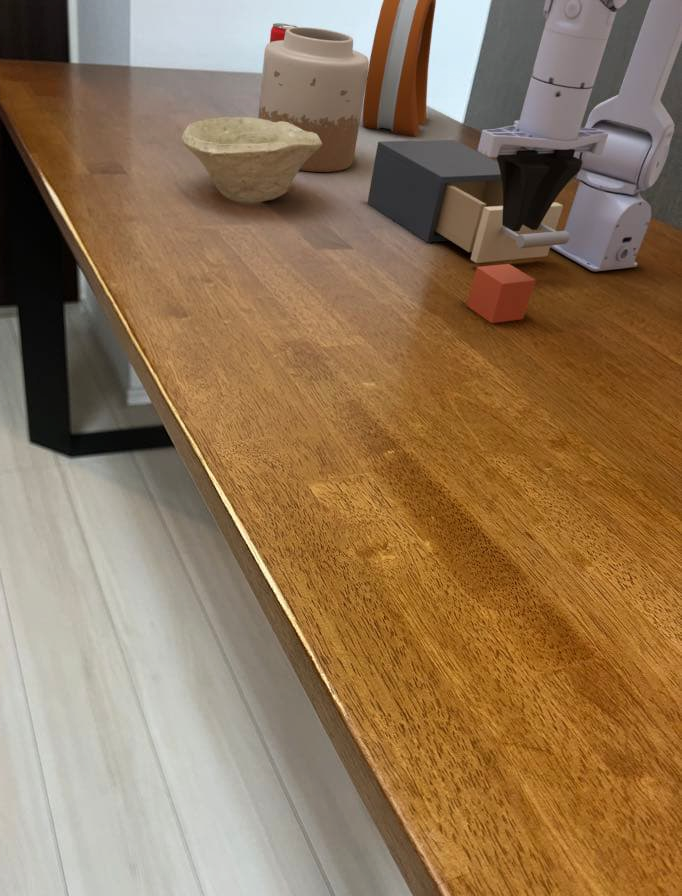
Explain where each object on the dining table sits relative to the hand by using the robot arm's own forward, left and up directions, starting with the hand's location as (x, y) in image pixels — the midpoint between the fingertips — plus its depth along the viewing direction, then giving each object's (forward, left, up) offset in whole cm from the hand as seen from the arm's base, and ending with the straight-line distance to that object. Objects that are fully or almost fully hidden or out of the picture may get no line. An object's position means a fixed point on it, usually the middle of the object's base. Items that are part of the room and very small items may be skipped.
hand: (519, 227), depth 88 cm
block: (0, 0, -9) cm, 9 cm away
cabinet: (+27, -11, -9) cm, 31 cm away
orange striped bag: (+73, -35, -10) cm, 82 cm away
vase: (+55, -6, -10) cm, 56 cm away
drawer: (+15, -11, -9) cm, 21 cm away
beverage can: (+89, -19, -10) cm, 92 cm away
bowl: (+40, +11, -10) cm, 43 cm away
